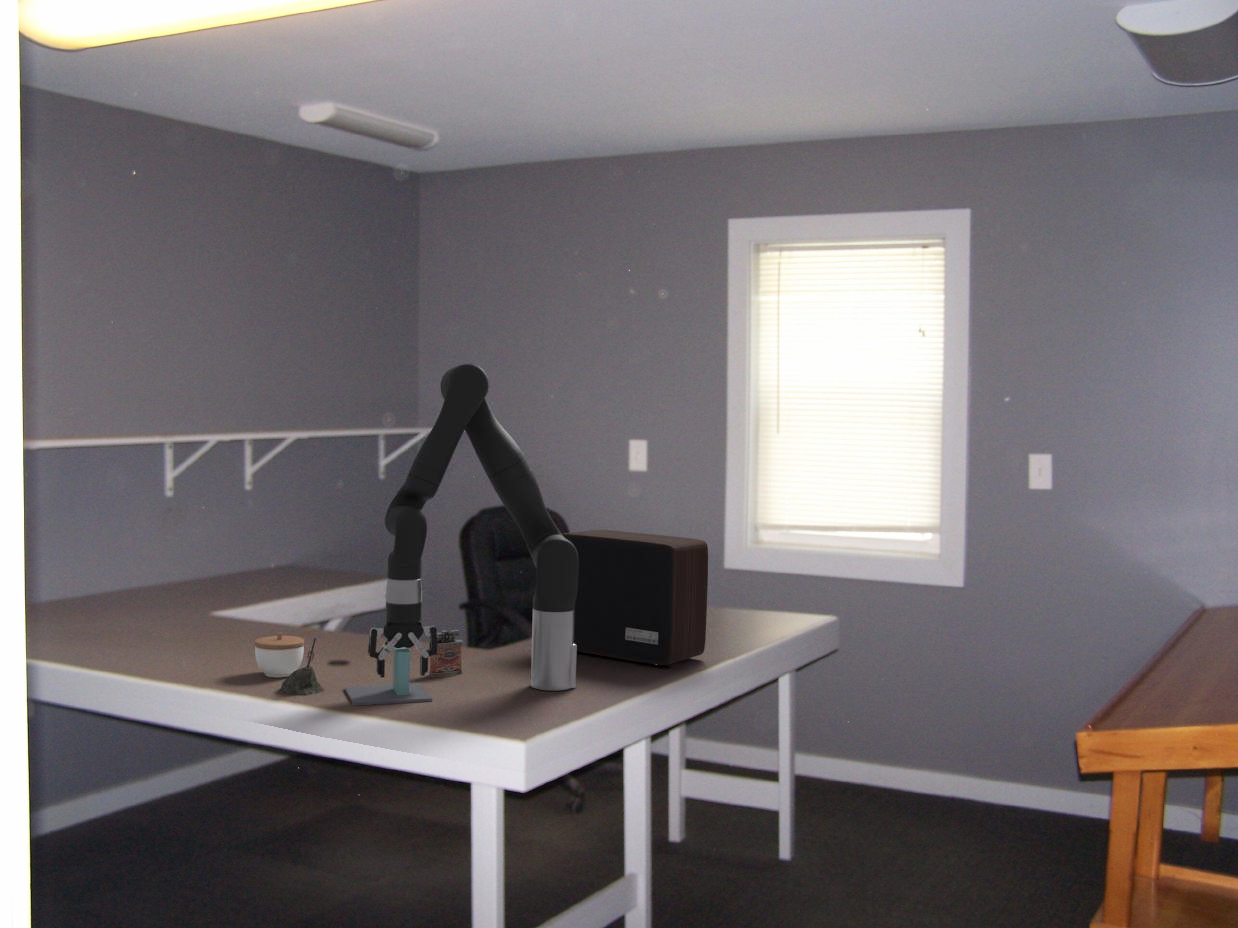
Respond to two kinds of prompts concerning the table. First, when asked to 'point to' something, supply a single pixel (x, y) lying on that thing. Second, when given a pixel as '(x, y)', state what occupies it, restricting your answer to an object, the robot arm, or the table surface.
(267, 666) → the lidded jar
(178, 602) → the table surface
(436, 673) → the lighter
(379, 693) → the mat
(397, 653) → the tile
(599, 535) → the radio
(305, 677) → the sword in stone
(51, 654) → the table surface
